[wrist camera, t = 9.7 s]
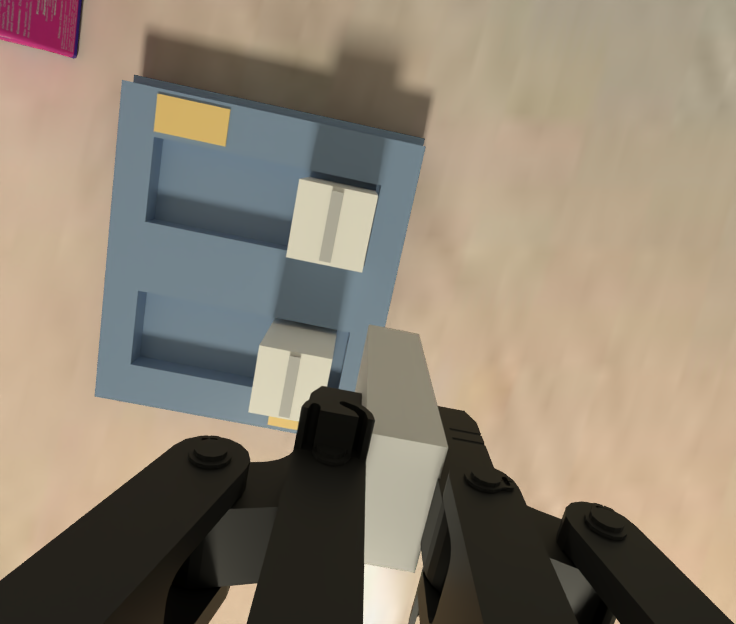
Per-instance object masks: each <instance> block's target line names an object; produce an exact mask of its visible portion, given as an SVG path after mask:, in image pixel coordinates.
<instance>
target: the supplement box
mask: <svg viewBox="0 0 736 624" xmlns="http://www.w3.org/2000/svg"><path fill="white" fill-rule="evenodd" d="M81 2H82V0H0V40H4V41H8V42H13V43H17V44H21V45H25V46H29V47H33V48H38V49H42V50H46V51H50V52H53V53H57V54H61V55H64V56H68V57H71V58H76V57H77V46H78V35H79V24H80V13H81Z"/></svg>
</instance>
